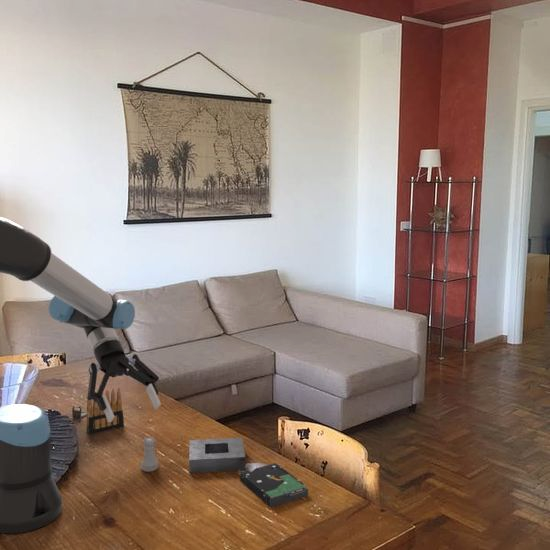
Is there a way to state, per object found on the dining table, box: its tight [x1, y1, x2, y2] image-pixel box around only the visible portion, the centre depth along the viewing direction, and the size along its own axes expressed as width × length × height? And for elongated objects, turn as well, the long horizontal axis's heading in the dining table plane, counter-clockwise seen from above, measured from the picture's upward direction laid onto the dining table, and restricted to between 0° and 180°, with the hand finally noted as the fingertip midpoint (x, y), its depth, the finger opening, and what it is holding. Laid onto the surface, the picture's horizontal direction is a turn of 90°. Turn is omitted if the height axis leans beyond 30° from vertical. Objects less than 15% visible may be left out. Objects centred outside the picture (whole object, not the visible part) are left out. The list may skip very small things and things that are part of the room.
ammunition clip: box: [86, 387, 125, 435], centre depth 176 cm, size 11×2×12 cm, turn 125°
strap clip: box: [70, 405, 87, 424], centre depth 185 cm, size 8×3×4 cm, turn 166°
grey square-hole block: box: [188, 437, 246, 474], centre depth 156 cm, size 12×14×4 cm
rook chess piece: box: [140, 436, 159, 473], centre depth 151 cm, size 4×4×8 cm
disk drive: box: [239, 462, 309, 508], centre depth 142 cm, size 10×3×15 cm
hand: (135, 413), depth 157 cm, fingers open, 13 cm apart
